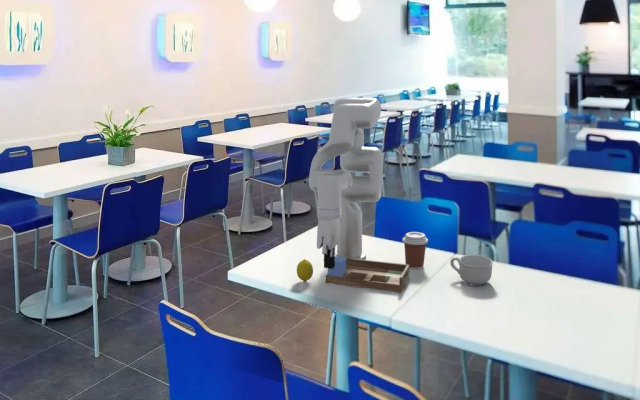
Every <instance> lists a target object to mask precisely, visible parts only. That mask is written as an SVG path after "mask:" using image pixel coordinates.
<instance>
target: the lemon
mask: <svg viewBox="0 0 640 400" xmlns="http://www.w3.org/2000/svg"><path fill="white" fill-rule="evenodd" d="M313 267H314V266H313V264H312V263H311V261H309V260H308V259H302V260H300V261H299V262H298V264H297V266H296V274H297V275H296V276H297V277H298V279H300V280H301V281H303V283H306V282H307V281H309V280H310V279H311V278H312V277H313V274H314V268H313Z"/></svg>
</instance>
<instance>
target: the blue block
mask: <svg viewBox="0 0 640 400" xmlns="http://www.w3.org/2000/svg"><path fill="white" fill-rule="evenodd" d="M345 273H346V258H341V257H335V267H334V268H333V269H329V268H327V274H328V275H330V276H339V277H342V276H343V275H344V274H345Z"/></svg>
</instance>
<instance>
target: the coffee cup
mask: <svg viewBox="0 0 640 400" xmlns="http://www.w3.org/2000/svg"><path fill="white" fill-rule="evenodd" d="M402 242H403V244H404V245H403V246H404V260H405V263H404V264H408V265H410V270H421V269H423V268H424V267H423V266H424V265H425V258H426V257H425V255H426V246H427V244H428V242H429V239H428V238H427V237H426V234H425V233H423V232H418V231H410V232H407V233H406V234H405V235H404V237H402ZM420 268H421V269H420Z"/></svg>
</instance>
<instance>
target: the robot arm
mask: <svg viewBox="0 0 640 400" xmlns="http://www.w3.org/2000/svg"><path fill="white" fill-rule="evenodd" d="M381 111H382V105H381V102H380V101H379V99H378V98H375V97H342V98H338V99H336V100H334V103H333V115H332V119H331V126H330V131H329V132H330V133H329V138H328V141H327V143H324V145H323V146H322V147H320V148H319V149H318V151H317V152H316V153H315V154H314V156H313V158H312V161H311V164H310V169H309V176H308V186H309V189H311V191H312V192H315V193H317V218H318V222H317V230H316V232H317V233H316V248H317V249H318V250H320V249H321V248H322V249H321V254H322V255H323V268H324V269H328V268H329V269H333V268H334V267H335V257H343V258H352V259H361V260H366V258H367V254H366V252H365V251H363V212H362V209H361V207H360V205H359V204H358V203H357V202H359V203H377V202H378V201H379V200H380V199H381V198H382V197H381V196H382V190H383V172H384V158H383V157H384V156H383V152H382V150H381V148H378V147H376V146H365V145H364V144H365V133H364V131H363V129H372V128H374V127H375V125H376V123H377V122H378V121H379V119H380V117H381ZM338 156H340V157H339V166H340V168H341V169H336V170H335V169H322V167H323V166H324V164H325V163H326V162H328V161H329V160H331V159H334V158H337V157H338ZM351 173H367V174H369V175H352V174H351Z"/></svg>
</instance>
